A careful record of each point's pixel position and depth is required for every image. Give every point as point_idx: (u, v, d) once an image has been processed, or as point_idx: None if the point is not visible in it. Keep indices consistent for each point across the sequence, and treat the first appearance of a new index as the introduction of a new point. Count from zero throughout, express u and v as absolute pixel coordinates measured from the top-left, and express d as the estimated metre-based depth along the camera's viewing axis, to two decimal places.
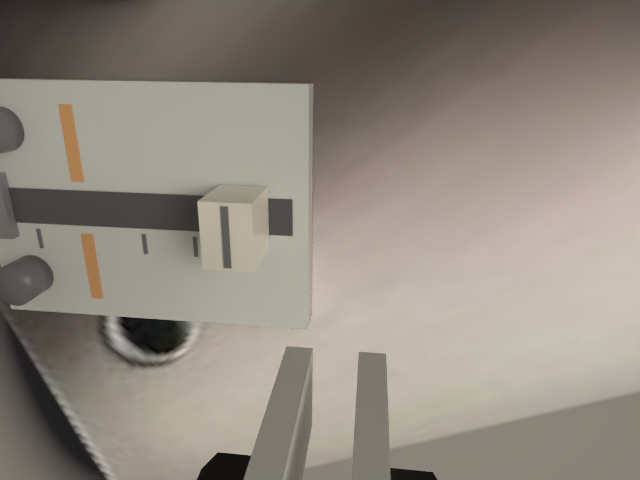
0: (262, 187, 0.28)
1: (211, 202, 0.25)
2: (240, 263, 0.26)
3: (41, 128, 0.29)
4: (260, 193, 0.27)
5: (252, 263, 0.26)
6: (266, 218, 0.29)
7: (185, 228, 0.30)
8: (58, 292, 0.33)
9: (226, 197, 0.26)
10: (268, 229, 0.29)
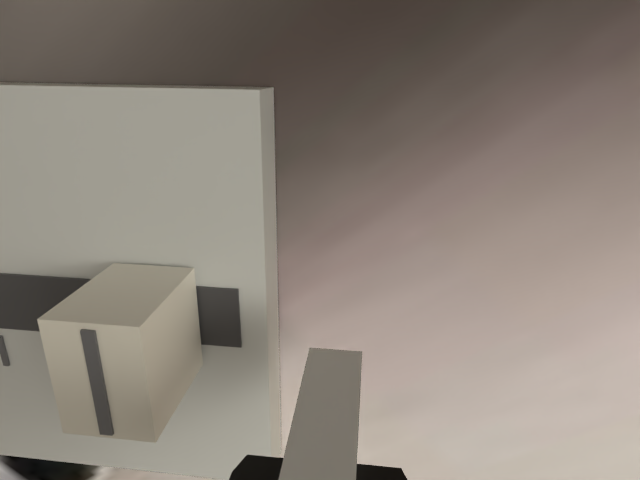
0: (183, 271, 0.16)
1: (65, 320, 0.13)
2: (129, 427, 0.14)
3: None
4: (172, 289, 0.15)
5: (151, 428, 0.14)
6: (192, 323, 0.16)
7: None
8: None
9: (102, 304, 0.14)
10: (199, 337, 0.17)
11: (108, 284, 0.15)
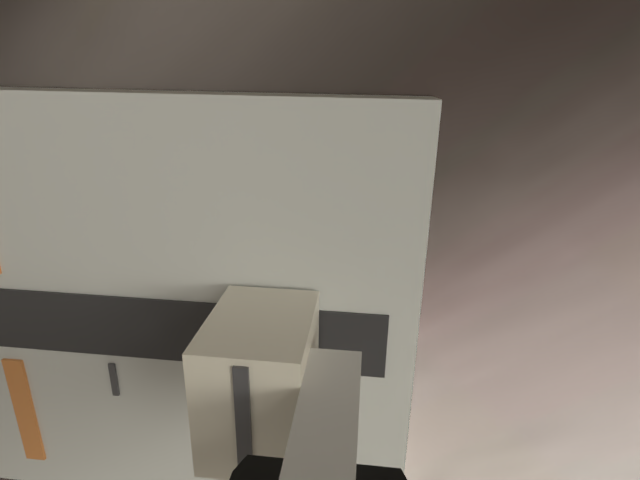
0: (310, 295, 0.15)
1: (213, 356, 0.12)
2: None
3: None
4: (311, 317, 0.13)
5: None
6: None
7: None
8: None
9: (244, 335, 0.13)
10: None
11: (237, 311, 0.14)
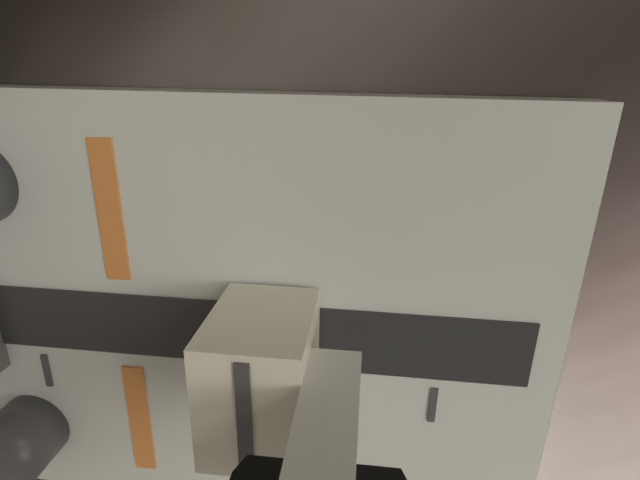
0: (311, 292, 0.15)
1: (215, 352, 0.12)
2: None
3: (52, 182, 0.15)
4: (311, 314, 0.14)
5: None
6: None
7: None
8: (77, 454, 0.19)
9: (244, 332, 0.13)
10: None
11: (238, 308, 0.14)
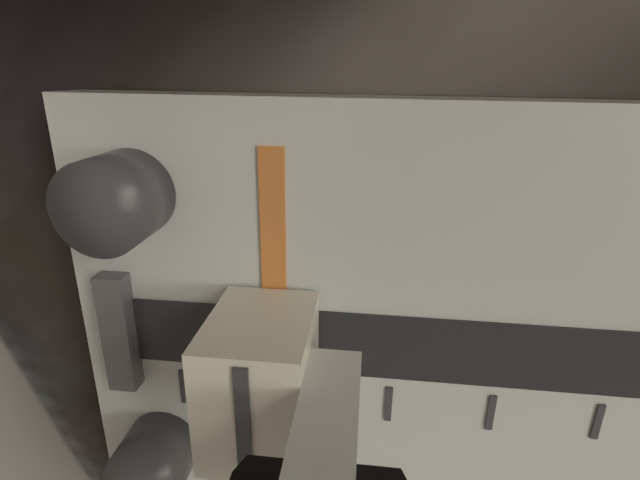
0: (309, 295, 0.15)
1: (213, 356, 0.12)
2: None
3: (213, 192, 0.14)
4: (310, 318, 0.13)
5: None
6: None
7: (480, 381, 0.16)
8: None
9: (243, 335, 0.12)
10: None
11: (237, 311, 0.14)
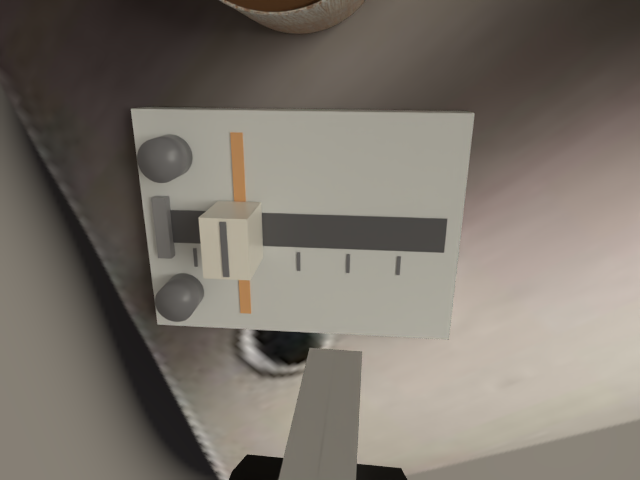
0: (256, 203, 0.31)
1: (211, 217, 0.28)
2: (237, 272, 0.29)
3: (210, 155, 0.31)
4: (254, 209, 0.30)
5: (248, 272, 0.29)
6: (260, 231, 0.32)
7: (341, 246, 0.32)
8: (206, 308, 0.35)
9: (224, 213, 0.29)
10: (262, 241, 0.32)
11: (221, 207, 0.30)
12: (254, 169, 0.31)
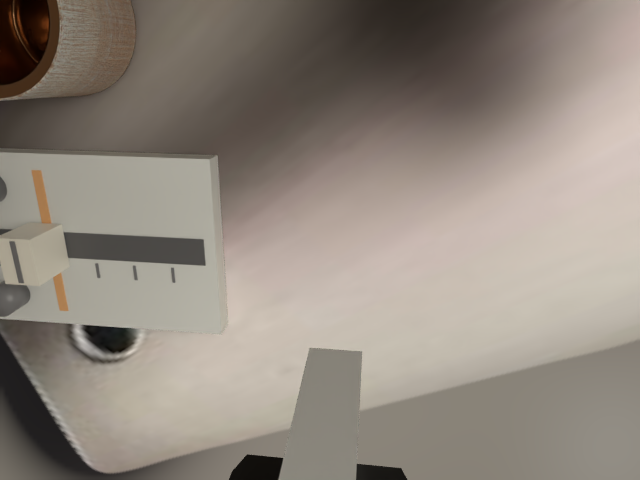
0: (56, 225, 0.40)
1: (4, 238, 0.37)
2: (29, 279, 0.38)
3: (19, 187, 0.40)
4: (48, 230, 0.39)
5: (37, 279, 0.38)
6: (61, 246, 0.40)
7: (127, 259, 0.41)
8: (34, 306, 0.44)
9: (19, 234, 0.38)
10: (66, 254, 0.41)
11: (24, 228, 0.39)
12: (54, 198, 0.40)
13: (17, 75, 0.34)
